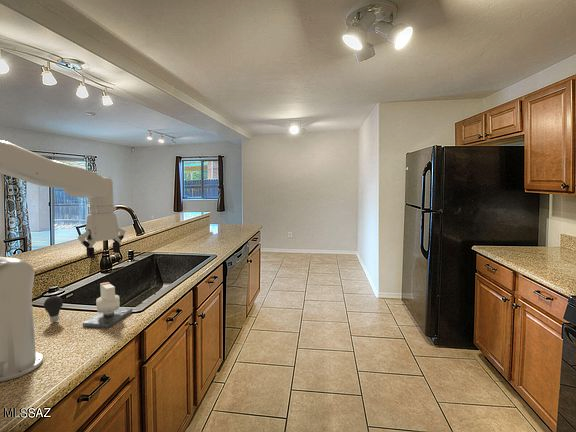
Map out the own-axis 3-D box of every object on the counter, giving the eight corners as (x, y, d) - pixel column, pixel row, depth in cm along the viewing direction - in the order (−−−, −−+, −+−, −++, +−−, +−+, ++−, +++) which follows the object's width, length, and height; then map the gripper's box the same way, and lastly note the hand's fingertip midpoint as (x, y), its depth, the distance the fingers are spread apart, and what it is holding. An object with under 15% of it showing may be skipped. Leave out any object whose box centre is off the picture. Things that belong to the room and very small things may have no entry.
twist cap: (122, 308, 116) (121, 284, 115) (100, 314, 110) (99, 289, 109) (115, 302, 121) (114, 280, 120) (93, 308, 115) (92, 284, 114)
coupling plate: (108, 328, 108) (108, 317, 108) (82, 326, 109) (82, 316, 109) (132, 312, 122) (131, 302, 122) (109, 310, 123) (108, 301, 123)
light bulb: (67, 319, 115) (66, 294, 114) (55, 326, 109) (53, 299, 108) (54, 318, 115) (52, 293, 114) (40, 325, 110) (39, 298, 109)
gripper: (117, 208, 121) (119, 249, 123) (71, 211, 106) (73, 258, 108) (130, 209, 118) (131, 252, 120) (83, 212, 103) (86, 261, 105)
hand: (104, 255), depth 114 cm, fingers open, 9 cm apart
